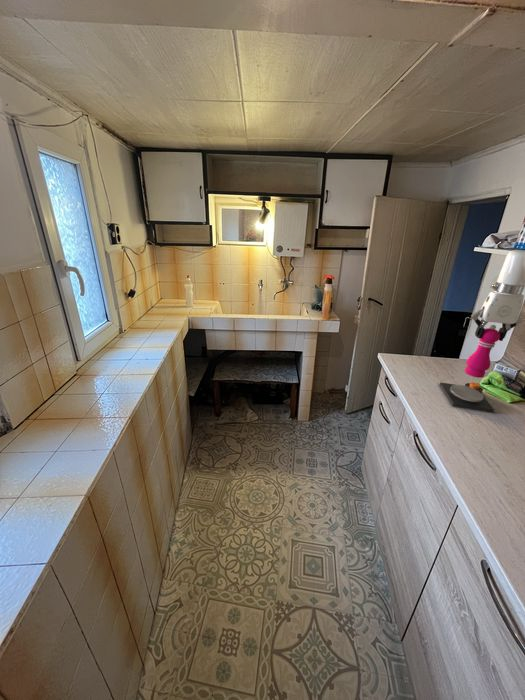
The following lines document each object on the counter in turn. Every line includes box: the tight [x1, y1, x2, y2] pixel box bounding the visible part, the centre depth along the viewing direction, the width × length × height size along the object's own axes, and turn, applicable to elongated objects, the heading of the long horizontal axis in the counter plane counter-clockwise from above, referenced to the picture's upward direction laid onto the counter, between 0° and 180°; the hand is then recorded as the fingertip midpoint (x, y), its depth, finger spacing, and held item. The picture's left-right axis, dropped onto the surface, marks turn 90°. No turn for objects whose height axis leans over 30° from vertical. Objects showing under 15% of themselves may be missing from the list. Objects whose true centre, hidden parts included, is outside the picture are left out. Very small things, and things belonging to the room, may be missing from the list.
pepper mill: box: [464, 324, 500, 379], centre depth 104 cm, size 7×7×20 cm
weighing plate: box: [450, 384, 485, 402], centre depth 111 cm, size 11×11×1 cm
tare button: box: [469, 381, 481, 390], centre depth 116 cm, size 3×3×2 cm
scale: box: [438, 382, 495, 414], centre depth 113 cm, size 15×16×3 cm
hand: (488, 337), depth 102 cm, fingers closed on pepper mill, 6 cm apart
